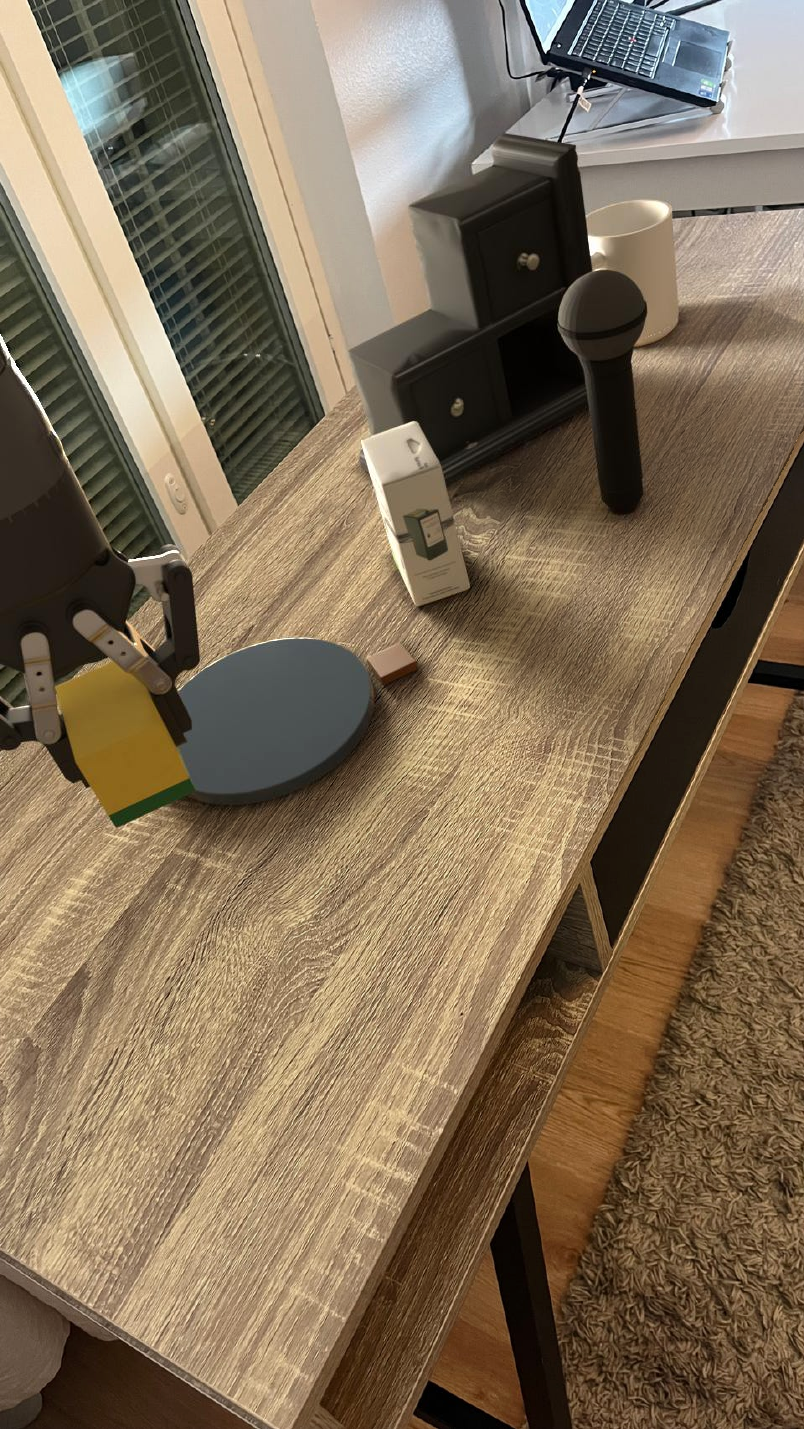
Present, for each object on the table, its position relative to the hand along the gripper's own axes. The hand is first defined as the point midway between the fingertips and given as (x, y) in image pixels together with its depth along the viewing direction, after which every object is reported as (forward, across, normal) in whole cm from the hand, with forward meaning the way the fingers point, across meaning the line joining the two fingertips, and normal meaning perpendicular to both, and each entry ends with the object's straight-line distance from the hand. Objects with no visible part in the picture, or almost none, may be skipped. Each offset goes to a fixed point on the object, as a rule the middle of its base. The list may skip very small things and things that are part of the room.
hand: (133, 755), depth 58 cm
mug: (+15, -61, -50) cm, 81 cm away
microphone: (+15, -43, -22) cm, 51 cm away
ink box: (+15, -26, -26) cm, 39 cm away
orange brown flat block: (+15, -19, -16) cm, 29 cm away
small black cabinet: (+15, -40, -44) cm, 61 cm away
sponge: (+1, 0, 0) cm, 1 cm away
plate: (+15, -8, -17) cm, 24 cm away
